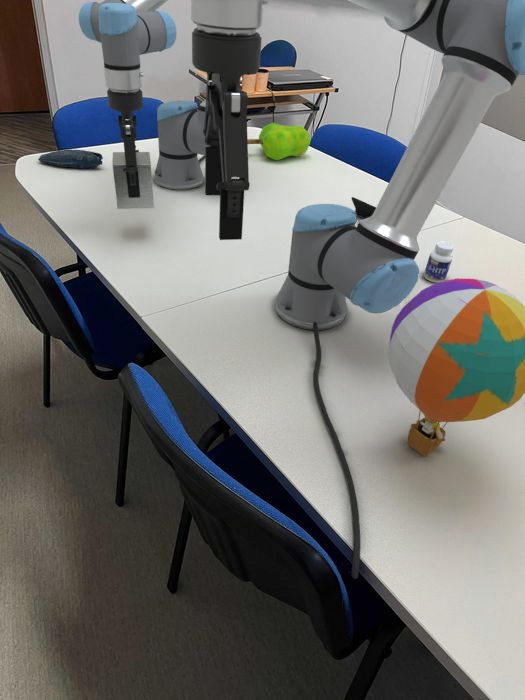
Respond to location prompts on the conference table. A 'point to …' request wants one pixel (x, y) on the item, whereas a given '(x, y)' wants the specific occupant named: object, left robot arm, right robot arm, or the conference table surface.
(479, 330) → the toy
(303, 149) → the decorative tree
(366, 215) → the handheld gaming console
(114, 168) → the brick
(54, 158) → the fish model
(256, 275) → the conference table surface
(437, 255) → the pill bottle
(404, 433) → the conference table surface
